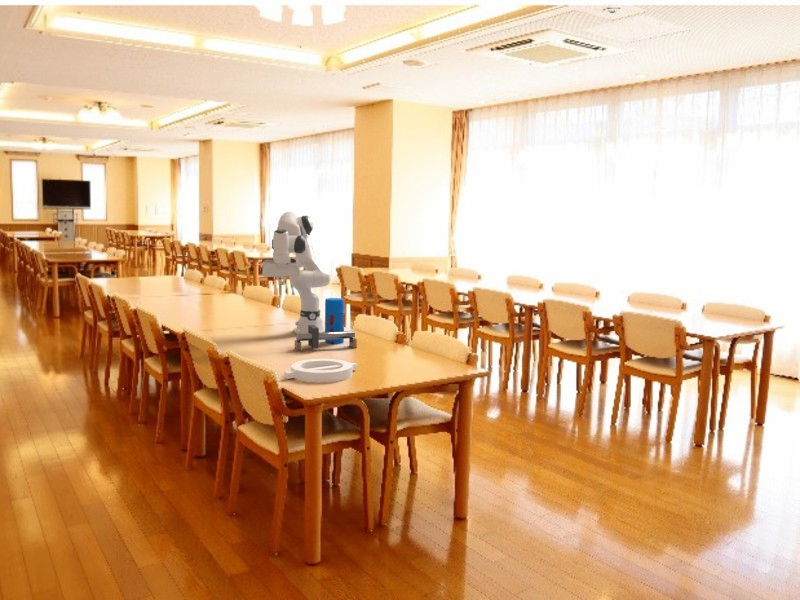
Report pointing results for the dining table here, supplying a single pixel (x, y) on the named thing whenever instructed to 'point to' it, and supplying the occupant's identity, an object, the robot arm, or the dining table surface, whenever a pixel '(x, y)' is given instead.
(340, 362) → the ring with crossbar
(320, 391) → the dining table surface
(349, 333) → the pipe rig
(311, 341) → the collar
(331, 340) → the thermos
